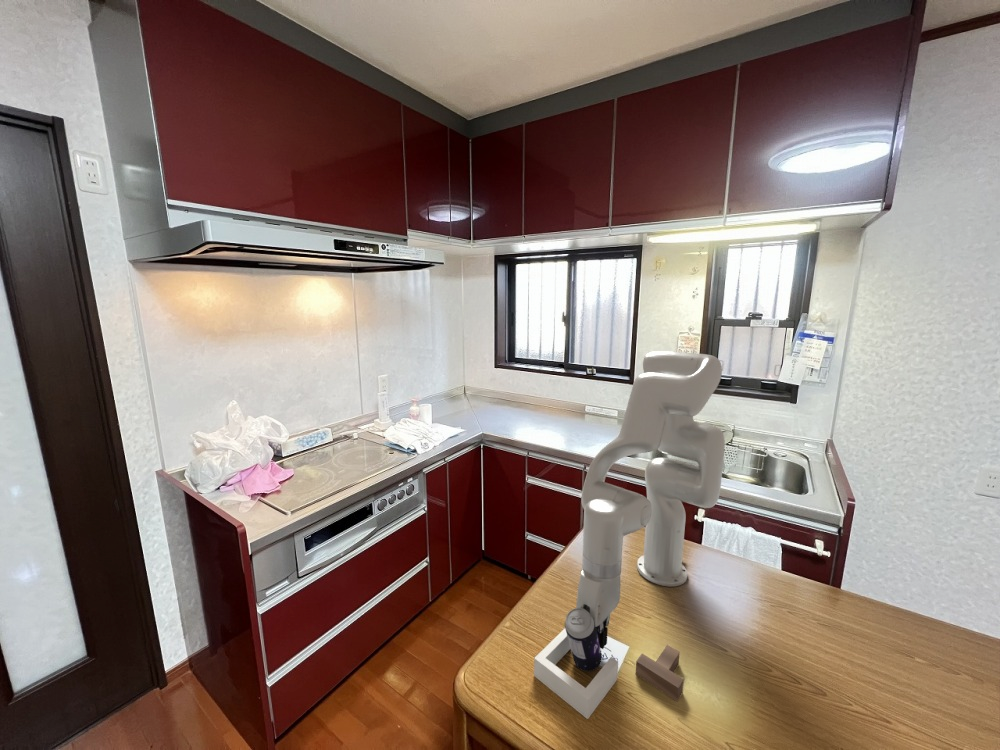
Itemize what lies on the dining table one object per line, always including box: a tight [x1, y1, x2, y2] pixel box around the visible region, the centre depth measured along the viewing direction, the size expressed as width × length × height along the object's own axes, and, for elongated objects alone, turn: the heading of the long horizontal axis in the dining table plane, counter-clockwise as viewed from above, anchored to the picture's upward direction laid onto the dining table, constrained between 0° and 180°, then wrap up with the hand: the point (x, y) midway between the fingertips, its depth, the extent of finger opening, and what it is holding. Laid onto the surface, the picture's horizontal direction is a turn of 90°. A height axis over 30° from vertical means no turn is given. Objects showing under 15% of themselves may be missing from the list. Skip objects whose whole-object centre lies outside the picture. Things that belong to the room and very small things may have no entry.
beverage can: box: [564, 607, 603, 672], centre depth 79 cm, size 6×6×12 cm
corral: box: [533, 628, 619, 720], centre depth 78 cm, size 10×12×4 cm
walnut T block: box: [635, 644, 685, 703], centre depth 78 cm, size 8×8×3 cm
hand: (598, 642), depth 83 cm, fingers closed
